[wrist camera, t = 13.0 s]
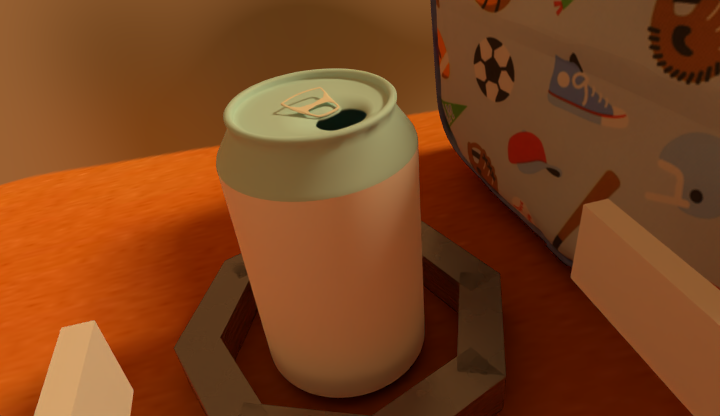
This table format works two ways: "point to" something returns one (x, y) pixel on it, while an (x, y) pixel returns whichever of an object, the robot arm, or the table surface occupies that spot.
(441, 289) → the ring
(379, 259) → the can
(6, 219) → the table surface
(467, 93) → the lunch box
